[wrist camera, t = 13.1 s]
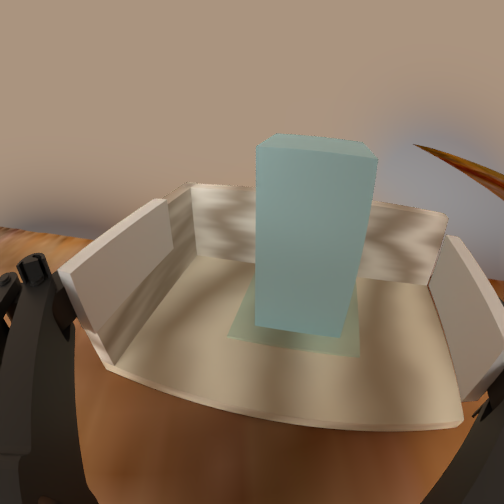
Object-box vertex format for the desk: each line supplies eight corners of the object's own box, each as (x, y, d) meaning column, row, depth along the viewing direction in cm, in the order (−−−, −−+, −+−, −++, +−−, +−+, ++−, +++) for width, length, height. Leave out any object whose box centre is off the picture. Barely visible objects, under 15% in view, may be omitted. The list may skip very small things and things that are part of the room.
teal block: (340, 286, 23) (363, 142, 17) (339, 337, 18) (377, 159, 12) (271, 277, 24) (276, 133, 18) (254, 325, 19) (256, 146, 13)
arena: (420, 284, 25) (443, 212, 21) (456, 427, 12) (529, 344, 7) (193, 254, 30) (186, 182, 26) (106, 369, 17) (61, 276, 13)
